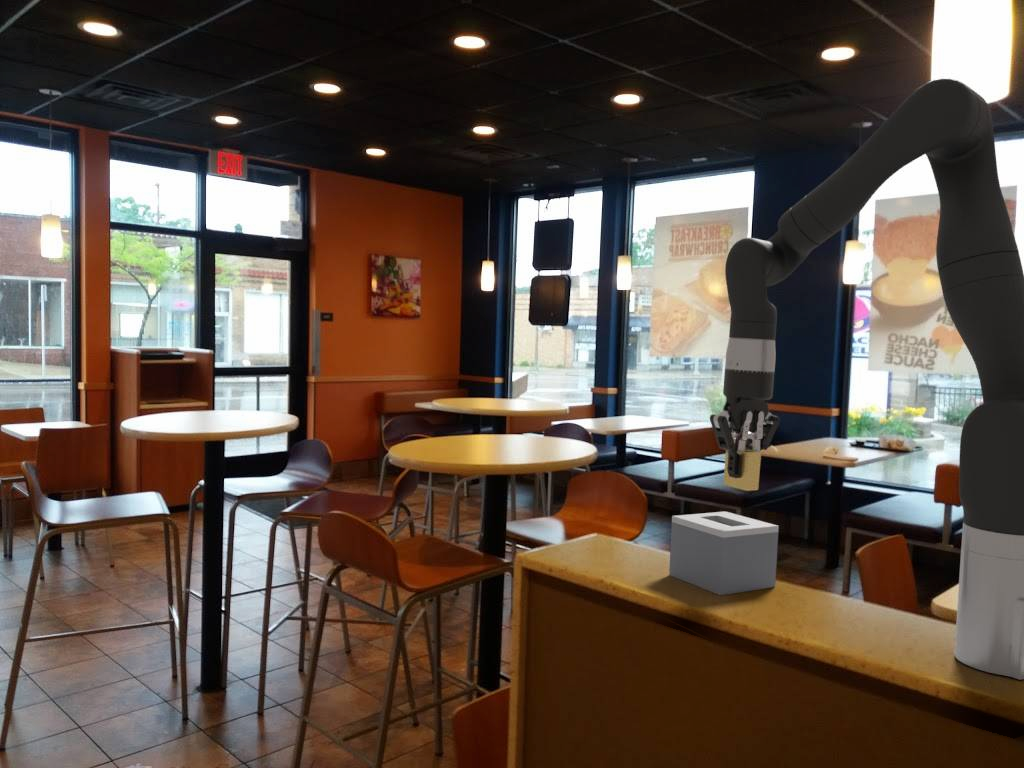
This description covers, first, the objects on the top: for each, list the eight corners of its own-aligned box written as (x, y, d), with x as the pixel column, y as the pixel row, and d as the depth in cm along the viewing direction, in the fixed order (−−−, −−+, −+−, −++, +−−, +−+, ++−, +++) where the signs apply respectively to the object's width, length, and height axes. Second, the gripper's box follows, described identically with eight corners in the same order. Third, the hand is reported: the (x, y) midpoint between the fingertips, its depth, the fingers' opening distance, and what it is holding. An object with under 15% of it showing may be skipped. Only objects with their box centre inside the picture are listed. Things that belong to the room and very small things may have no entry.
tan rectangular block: (758, 490, 128) (761, 452, 128) (746, 490, 127) (749, 452, 126) (734, 483, 132) (737, 447, 132) (723, 484, 131) (726, 447, 131)
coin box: (775, 586, 132) (778, 525, 132) (720, 595, 127) (723, 531, 126) (722, 568, 143) (725, 511, 142) (669, 575, 137) (672, 515, 137)
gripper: (735, 368, 122) (726, 483, 123) (799, 370, 129) (790, 479, 130) (700, 365, 128) (691, 474, 129) (762, 367, 135) (754, 471, 136)
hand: (741, 476), depth 130 cm, fingers closed on tan rectangular block, 2 cm apart
